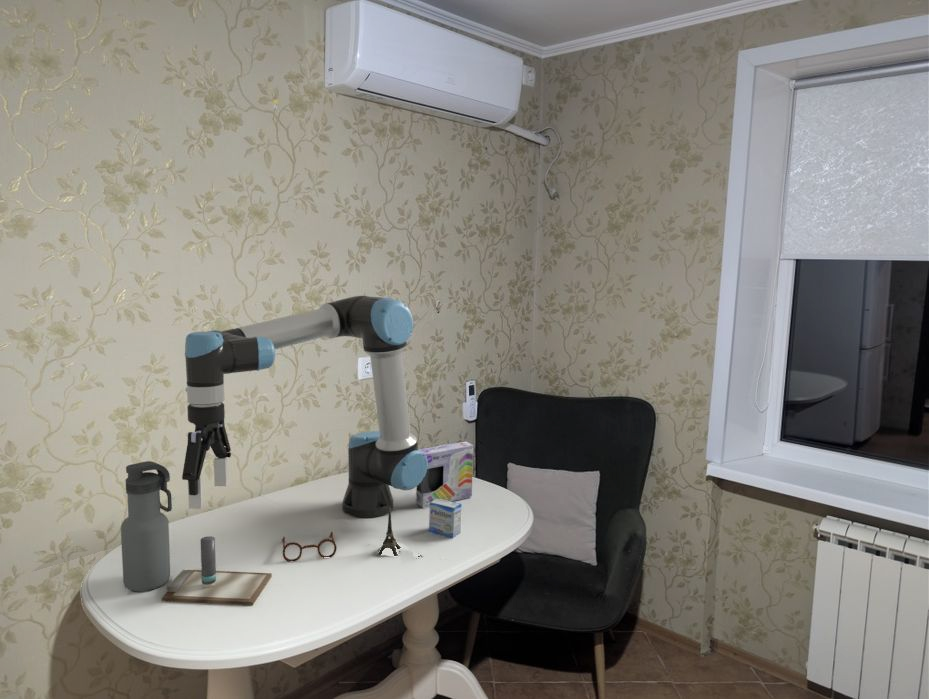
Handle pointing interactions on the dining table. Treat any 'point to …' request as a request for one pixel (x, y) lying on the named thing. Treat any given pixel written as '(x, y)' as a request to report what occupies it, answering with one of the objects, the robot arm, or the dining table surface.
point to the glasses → (308, 547)
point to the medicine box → (445, 518)
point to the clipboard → (217, 588)
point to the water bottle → (146, 528)
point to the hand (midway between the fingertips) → (209, 496)
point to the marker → (208, 562)
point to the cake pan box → (446, 473)
